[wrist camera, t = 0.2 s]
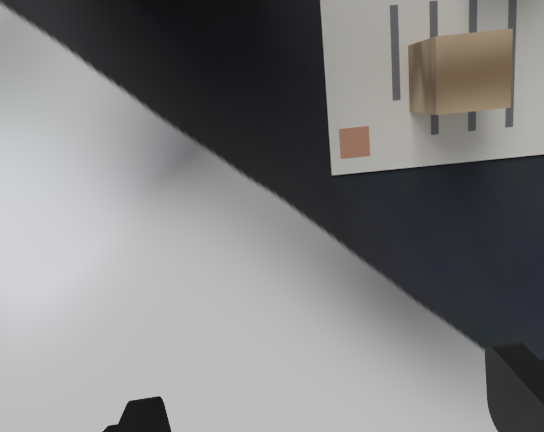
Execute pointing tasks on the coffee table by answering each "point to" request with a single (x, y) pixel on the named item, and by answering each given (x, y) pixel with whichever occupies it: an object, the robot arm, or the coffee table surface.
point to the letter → (395, 84)
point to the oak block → (461, 72)
